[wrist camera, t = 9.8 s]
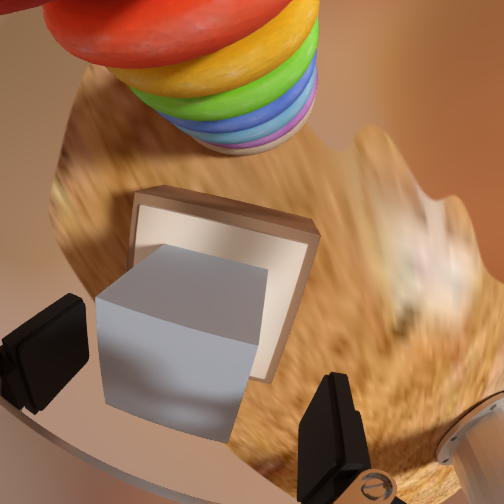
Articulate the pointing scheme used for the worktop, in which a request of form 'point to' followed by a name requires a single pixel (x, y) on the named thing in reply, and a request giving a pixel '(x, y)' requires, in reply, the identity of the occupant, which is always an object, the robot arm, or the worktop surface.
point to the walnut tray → (233, 251)
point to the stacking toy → (201, 61)
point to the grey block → (181, 339)
